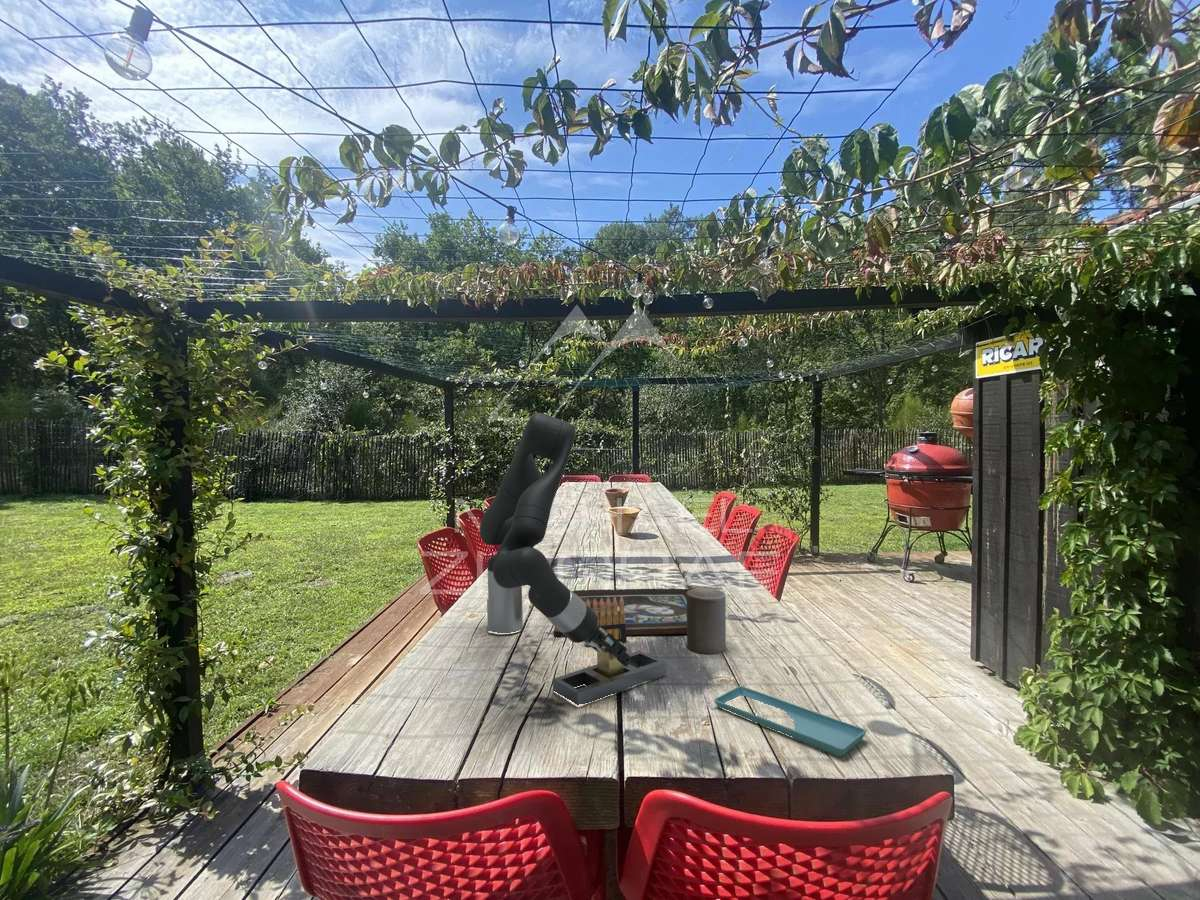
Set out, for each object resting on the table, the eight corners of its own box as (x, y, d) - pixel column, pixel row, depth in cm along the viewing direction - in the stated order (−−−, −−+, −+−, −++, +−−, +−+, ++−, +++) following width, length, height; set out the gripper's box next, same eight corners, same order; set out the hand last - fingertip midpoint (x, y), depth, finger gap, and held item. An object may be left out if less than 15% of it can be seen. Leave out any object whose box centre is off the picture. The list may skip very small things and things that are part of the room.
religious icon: (723, 635, 154) (723, 624, 154) (553, 640, 155) (552, 629, 155) (700, 594, 194) (699, 585, 194) (564, 598, 195) (564, 589, 195)
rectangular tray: (712, 709, 114) (712, 697, 114) (740, 695, 120) (740, 683, 120) (843, 764, 95) (843, 749, 95) (868, 743, 101) (868, 729, 101)
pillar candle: (683, 652, 143) (682, 591, 143) (690, 638, 152) (690, 581, 152) (723, 657, 140) (723, 595, 139) (728, 642, 149) (728, 584, 148)
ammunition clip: (625, 640, 152) (624, 594, 152) (626, 643, 150) (625, 596, 150) (584, 644, 150) (583, 598, 149) (586, 647, 148) (584, 600, 148)
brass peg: (609, 689, 123) (608, 647, 123) (597, 683, 126) (596, 642, 126) (623, 684, 126) (623, 643, 126) (612, 678, 129) (611, 638, 129)
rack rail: (577, 708, 115) (577, 693, 115) (553, 692, 122) (552, 678, 122) (666, 675, 130) (666, 662, 130) (639, 663, 137) (639, 650, 137)
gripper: (601, 607, 115) (646, 650, 123) (561, 592, 127) (605, 633, 134) (580, 640, 112) (627, 682, 120) (541, 622, 124) (586, 661, 131)
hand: (615, 656), depth 127 cm, fingers open, 8 cm apart
